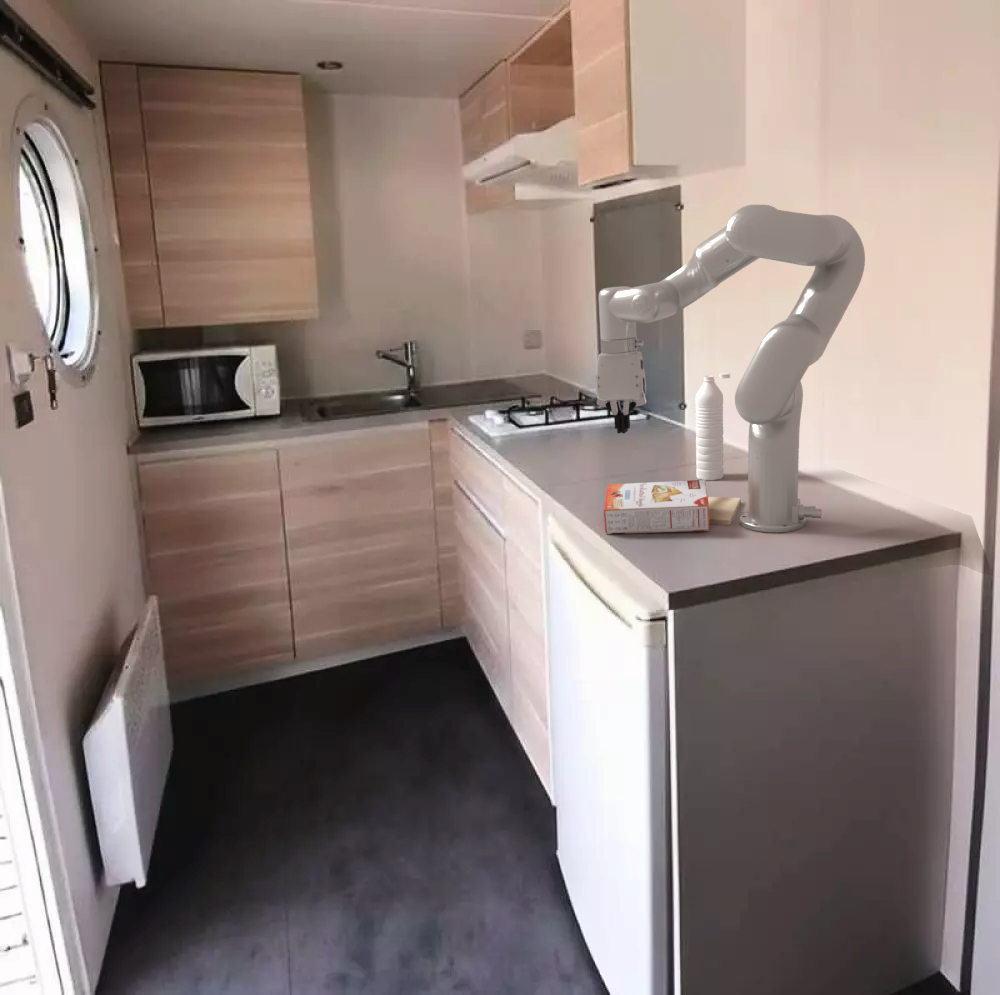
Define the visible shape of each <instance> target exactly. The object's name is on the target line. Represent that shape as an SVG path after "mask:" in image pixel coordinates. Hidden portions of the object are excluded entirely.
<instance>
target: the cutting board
mask: <svg viewBox="0 0 1000 995" xmlns="http://www.w3.org/2000/svg"><path fill="white" fill-rule="evenodd" d="M741 500H742V499H741V497H724V496H722V497H720V496H719V497H718V496H708V503H709V525H711V524H712V525H727V526H728V525H729V526H730V525H731V524H732V523H733V520H734V518H735V515H736V513H737V511H738V509H739V507H740V505H741V503H742V502H741Z"/></svg>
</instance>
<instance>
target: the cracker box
mask: <svg viewBox="0 0 1000 995" xmlns="http://www.w3.org/2000/svg"><path fill="white" fill-rule="evenodd" d="M706 483H707V482H706V480H702V479H697V480H695V479H692V480H675V481H654V482H653V481H651V482H634V483H610V484H607V485H606V492H605V493H606V494H605V500H604V505H603V506H604V507H603V518H604V519H603V520H604V530H605V531H604V532H606V533H625V534H647V533H674V532H677V533H678V532H681V533H682V532H705V531H706V532H707V531H710V524H709V503H708V497H709V496H708V490H707V484H706ZM606 533H605V534H606Z"/></svg>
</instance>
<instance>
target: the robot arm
mask: <svg viewBox="0 0 1000 995" xmlns="http://www.w3.org/2000/svg"><path fill="white" fill-rule="evenodd" d="M865 253H866V252H865V248H864V244H863V241H862V239H861V237H860V235H859V233H858V232H857V230H856V229H855V228H854V225H852V224H851V223H850V221H848V220H846V219H845V218H843V217H841V216H838V215H834V214H818V215H817V214H809V213H802V212H795V211H788V210H782V209H777V207H774V206H772V205H770V204H749V205H748V204H747V205H745V206H742V207H741V208H738V210H736V211H734V213H733V214H732V215H731V216H730V218H729V220H728V221H727V224H726V225H725V227H723V228H721V229H720V230H718V231H717V232H715V233H714V234H713V235H711V236H709V237H708V238H706V239H705V240H704V241H702V242H701V243H699V244H698V245H697V246H696V247H695V248H694V250H693V253H692V256H691V258H690V259H689V260H688V261H687V262H686V263H685V264H683V266H681V267H680V268H678V269H677V270H676V271H674V272H673V273H672V274H670V275H668V276H666V277H665V278H664V279H662V280H661V281H659V282H653V283H648V284H642V285H638V286H634V287H633V286H632V287H631V286H626V285H625V286H624V285H623V286H612V287H606V288H605V287H604V288H602V289H601V290H600V291H599V293H598V314H599V330H600V331H599V333H600V334H599V335H600V351H601V352H600V353H599V354H597V355H598V357H597V363H596V377H595V378H596V379H595V381H596V382H595V388H596V389H595V394H596V398H597V399H596V405H597V406H600V407H603V408H607V409H608V410H609V411H610V412H611V414H612V415H613V416H614V417H613V418H614V419H613V421H614V429H616V433H617V434H626V433H627V432H628V431H629V429H630V428H631V419H630V418H631V417H630V416H631V414H630V413H631V412H632V411H633V410H634V409H635V408H636V407H640V406H644V405H646V404H647V397H646V395H647V382H646V372H645V370H646V369H645V364H644V359H643V354H642V351H638V350H639V348H643V347H644V345H645V343H644V340H640V339H638V336H637V323H641V324H649V323H653V322H657V321H660V320H664V319H667V318H670V317H672V316H674V315H676V314H677V313H679V312H680V311H682V310H684V309H685V308H687V307H688V306H690V305H692V304H693V303H695V302H696V301H698V300H699V299H701V298H702V297H704V295H706V294H708V293H709V292H710V291H712V290H714V289H715V288H716V287H718V286H720V284H721V283H723V282H725V281H726V280H727V279H729V278H730V277H732V276H734V275H735V274H736V273H738V272H740V271H742V270H743V269H745V268H746V267H747V266H749V265H751V264H752V263H754V262H756V261H758V259H766V260H771V261H775V262H781V263H787V264H793V265H798V266H804V267H814V270H813V273H812V275H811V277H810V278H809V280H808V282H807V283H806V285H805V286H804V288H803V290H802V291H801V293H800V296H799V298H798V300H797V301H796V303H795V305H794V307H793V309H792V310H791V312H790V314H789V315H788V316H787V318H786V319H784V320H782V321H781V322H778V323H777V324H775V325H774V326H773V327H771V328H770V329H769V331H768V332H767V333H766V334H765V335H764V337H763V339H762V340H761V341H760V344H759V345H758V347H757V348H756V351H755V353H754V355H753V356H752V358H751V360H750V362H749V364H748V365H747V368H746V370H745V372H744V373H743V375H742V377H741V379H740V381H739V383H738V386H737V387H736V390H735V393H734V405H735V406H734V407H735V409H736V411H737V413H738V414H739V416H740V417H741V418H742V419H743V420H744V421H746V422H747V423H749V426H748V444H747V446H748V461H747V462H748V464H747V466H748V467H747V468H748V473H747V474H748V482H747V486H748V487H747V488H748V489H747V490H748V491H747V494H748V495H747V496H748V497H747V501H748V502H747V512H744V513H742V514H741V516H740V517H739V522H740V525H741V526H742V527H744V528H746V529H749V530H752V531H756V532H761V533H762V532H763V533H785V532H787V533H788V532H791V531H792V532H793V531H796V530H799V529H802V528H803V527H805V525H806V518H812V519H822V508H816V506H815V505H804V504H801V498H799V493H798V492H799V463H800V462H799V459H800V457H799V452H800V451H799V449H800V431H801V430H800V427H801V425H800V424H801V416H802V408H803V400H804V399H803V398H804V393H803V392H804V391H803V390H804V389H803V384H802V381H801V380H802V379H803V378H804V375H805V373H806V372H807V370H808V369H809V367H810V366H812V365H814V364H815V363H816V362H817V361H819V359H820V358H821V357H822V356H823V354H824V353H825V350H826V348H827V347H828V344H829V342H830V340H831V339H832V337H833V335H834V333H835V331H837V328H838V326H839V325H840V322H841V321H842V319H843V317H844V315H845V313H846V311H847V309H848V308H849V305H850V304H851V302H852V300H853V298H854V297H855V295H856V292H857V290H858V288H859V286H860V283H861V282H862V278H863V275H864V271H865V266H866V265H865V264H866V256H865ZM620 401H622V402H623V407H622V409H621V404H620Z"/></svg>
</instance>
